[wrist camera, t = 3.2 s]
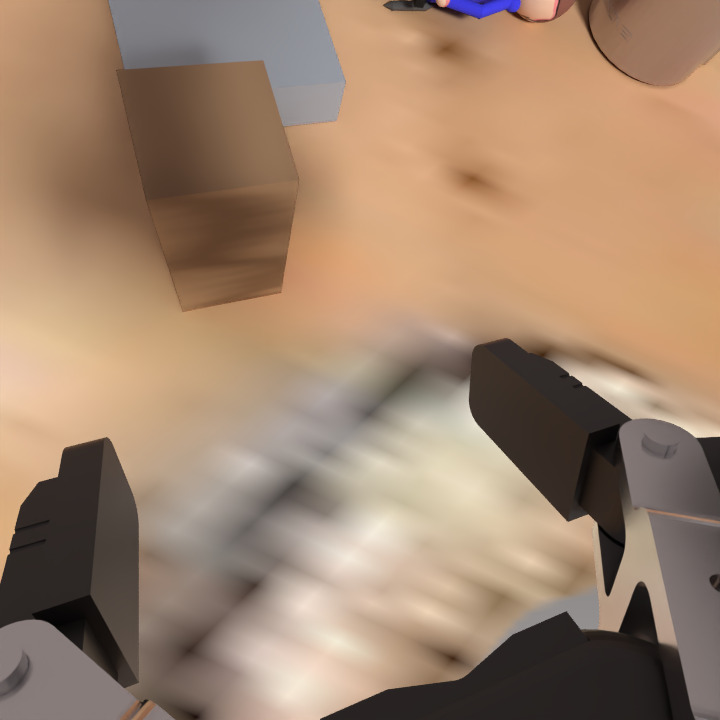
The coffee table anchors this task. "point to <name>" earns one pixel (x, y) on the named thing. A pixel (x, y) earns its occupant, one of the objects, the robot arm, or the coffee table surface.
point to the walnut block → (214, 176)
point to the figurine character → (492, 7)
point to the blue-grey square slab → (240, 46)
